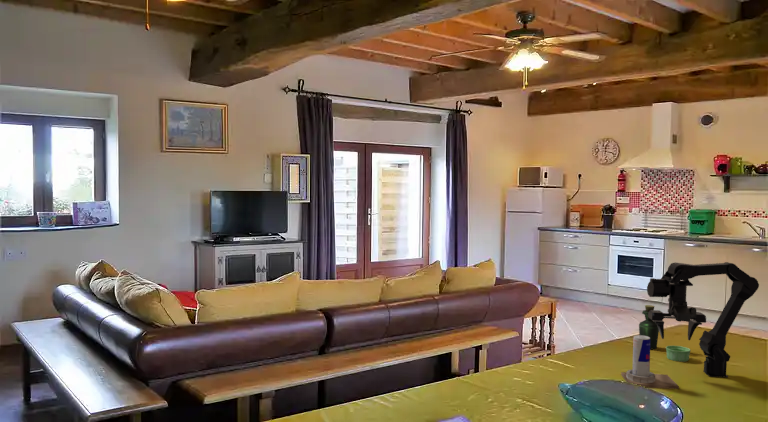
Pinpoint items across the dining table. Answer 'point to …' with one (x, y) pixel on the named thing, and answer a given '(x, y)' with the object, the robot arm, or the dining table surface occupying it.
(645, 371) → the beverage can
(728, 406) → the dining table surface
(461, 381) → the dining table surface
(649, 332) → the potion bottle
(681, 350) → the ramekin
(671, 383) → the board
